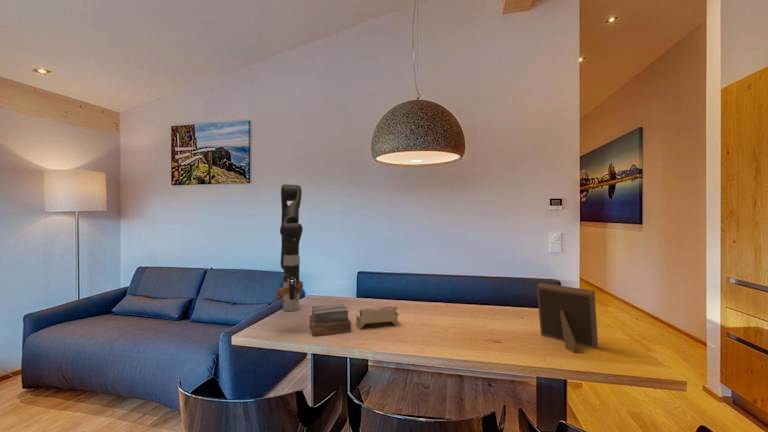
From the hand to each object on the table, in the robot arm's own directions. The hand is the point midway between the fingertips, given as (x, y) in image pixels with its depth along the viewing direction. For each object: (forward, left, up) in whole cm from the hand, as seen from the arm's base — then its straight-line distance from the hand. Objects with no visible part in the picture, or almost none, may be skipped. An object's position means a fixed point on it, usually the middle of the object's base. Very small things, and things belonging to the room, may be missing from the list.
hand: (291, 297), depth 159 cm
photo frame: (+55, +113, -16) cm, 127 cm away
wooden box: (+4, +18, -16) cm, 24 cm away
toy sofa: (+6, +42, -16) cm, 45 cm away
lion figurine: (0, -1, -1) cm, 2 cm away
